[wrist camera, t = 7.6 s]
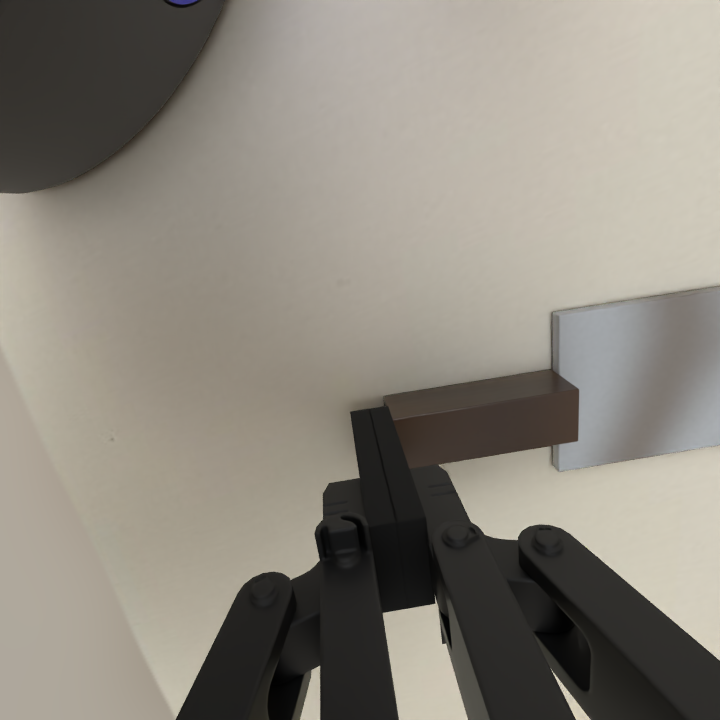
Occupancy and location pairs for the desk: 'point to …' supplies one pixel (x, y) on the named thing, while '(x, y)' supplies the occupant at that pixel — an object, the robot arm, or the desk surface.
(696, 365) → the spatula
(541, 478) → the desk surface
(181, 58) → the leaning round-cornered charcoal block
